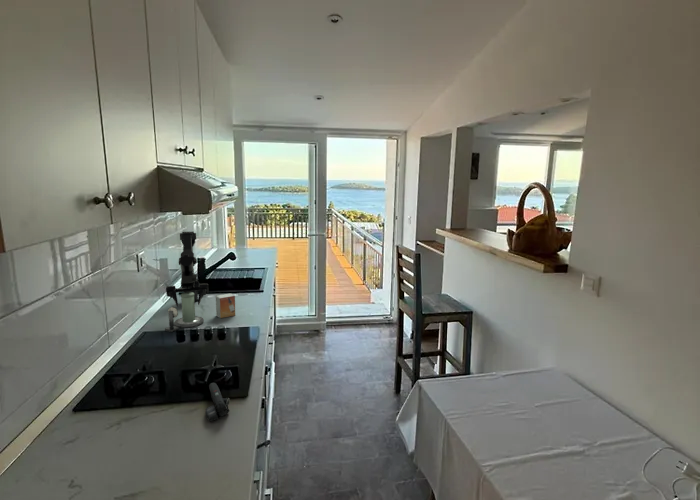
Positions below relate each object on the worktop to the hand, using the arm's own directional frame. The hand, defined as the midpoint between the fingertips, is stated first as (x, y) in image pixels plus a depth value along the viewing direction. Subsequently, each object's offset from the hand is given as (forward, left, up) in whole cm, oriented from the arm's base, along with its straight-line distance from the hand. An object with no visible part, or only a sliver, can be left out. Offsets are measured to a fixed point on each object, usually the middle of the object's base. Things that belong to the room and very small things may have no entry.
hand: (188, 305), depth 179 cm
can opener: (+34, +67, -10) cm, 75 cm away
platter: (-1, -1, -9) cm, 9 cm away
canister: (-1, -1, -8) cm, 8 cm away
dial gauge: (+9, +1, -9) cm, 13 cm away
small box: (-18, +4, -9) cm, 21 cm away
